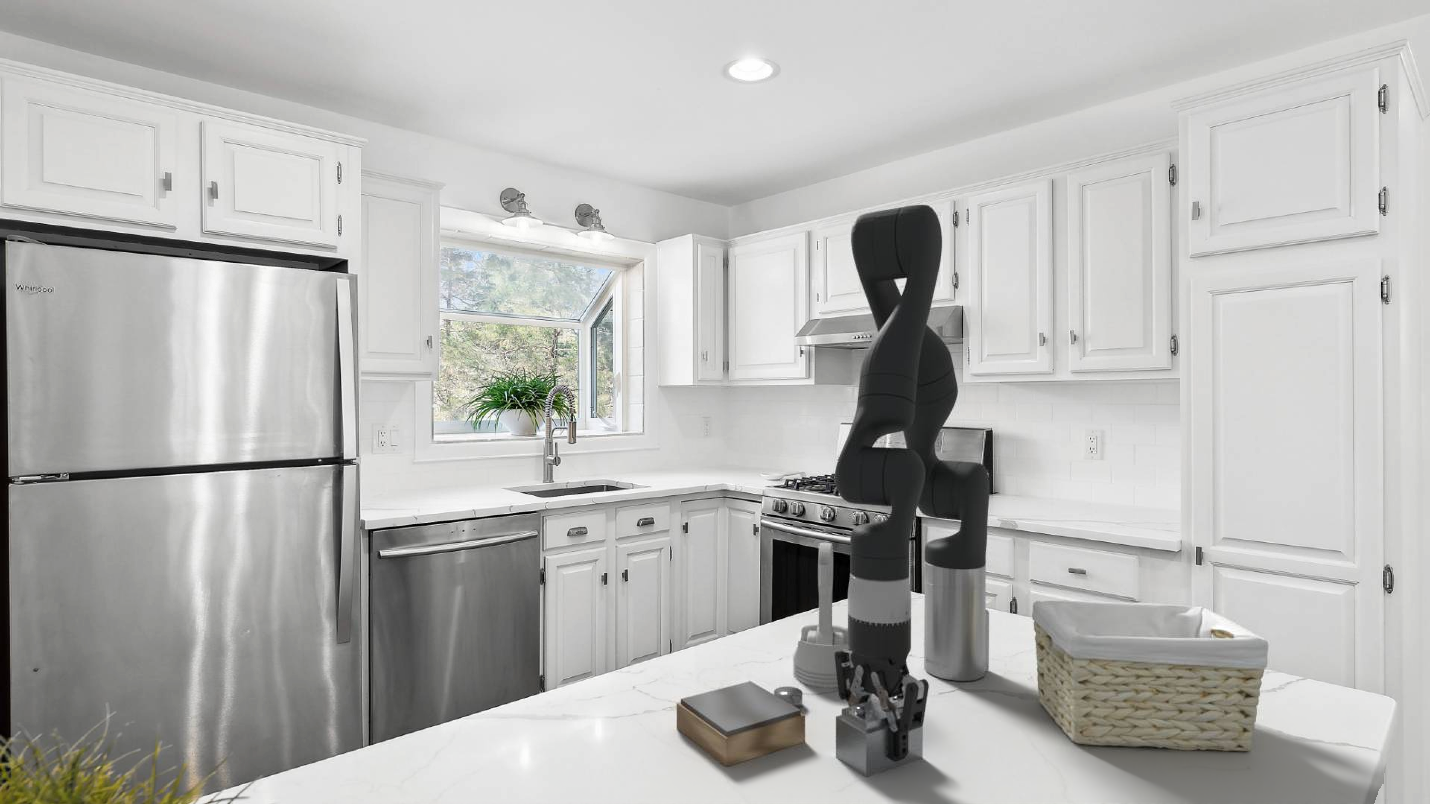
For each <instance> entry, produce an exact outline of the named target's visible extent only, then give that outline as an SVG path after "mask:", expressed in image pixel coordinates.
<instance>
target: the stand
mask: <svg viewBox="0 0 1430 804" xmlns="http://www.w3.org/2000/svg"><path fill="white" fill-rule="evenodd" d="M676 729H677V730H678V731H679V732H681V733H682V734H683V735H684V736H686V737H687V738H688V739H690V741H692V742H694V743H695V744H696V745H697V746H698V747H699V748H701V749H702V750H703V751H705V752H706V753H707V754H709V756H711V757H713V758H714V759H715V760H717V761H718V762H719V763H720V764H722V765H723V766H724V767H726V768H727V767H730V766H734V765H737V764H740V763H743V762H746V761H748V760H752V759H755V758H756V759H757V758H759V757H761V756H765V755H768V754H771V753H773V752H776V751H777V752H778V751H780V750H784V749H787V748H790V747H792V746H795V745H799V744H802V743H805V742H806V714H804V713H802V710H801V709H798V708H796V707H795V706H793V705H791V704H789V703H788V702H786V701H784V700H782V699H781V698H779V697H777V696H775V695H774V693H772V692H770V691H768V690H767V689H765V688H763V687H762V686H760V685H758V684H757V683H755V682H752V681H750V680H749V681H746V682H742V683H739V684H735V685H728V686H726V687H722V688H718V689H714V690H711V691H710V690H709V691H707V692H703V693H698V694H695V695H691V696H686V697H683V698H680V701H679V702H677V703H676Z"/></svg>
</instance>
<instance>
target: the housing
mask: <svg viewBox="0 0 1430 804" xmlns="http://www.w3.org/2000/svg"><path fill="white" fill-rule="evenodd" d="M889 700H890V702H893V701H896V700H897V695H896V696H894V697H891V698H889ZM896 715H897V719H899V718H900V715H899V712H898V709H896ZM889 729H890V726H889V722H888V719H887V715H886V712H885V711H883V710H882V709H881V705H880V701H879V698H877V699H873V700H870V701H869V702H865V703H862V704H858V705H855V706H851V707H849V706H848V707H845V708H841V715H837V716H835V758H837V759H838V760H839V761H841V762H842V763H844V764H845V765H847V766H849V767H850V768H851V769H853V770H854V771H856V772H858V773H859V774H861V775H862V776H864V777H865V778H868V777H871V776H874V775H877V774H878V773H882V772H885V771H887V770H888V771H889V770H891V769H895V768H896V767H900V766H903V765H905V764H908V763H912V762H914V761H918V760H920V759H923V758H924V757H923V756H924V755H923V754H924V753H923V751H924V750H923V748H924V746H923V744H924V742H923V741H924V740H923V739H924V730H923V729H924V725H923V726H922V727H920V728H917V729H914V730H911V731H909V732H908V755H907V756H906V757H905V758H904V759H902V760H900V761H897V762H894V761H892V760H890V759H889ZM917 759H918V760H917Z"/></svg>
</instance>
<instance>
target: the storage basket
mask: <svg viewBox="0 0 1430 804" xmlns="http://www.w3.org/2000/svg"><path fill="white" fill-rule="evenodd" d="M1031 618H1032V621H1033V630H1034V632H1035V635H1034V641H1035V649H1036V650H1035V655H1036V666H1037V667H1036V671H1037V675H1036V676H1037V678H1036V679H1037V689H1038V693H1037V695H1038V700H1039V701H1038V702H1039V703H1040V704H1041V705H1042V706H1043V708H1044V709H1045V710H1046V711H1047V713H1048V714H1049V716H1050V717H1051V718H1052V719H1054V722H1055V723H1056V725H1057V726H1059V727H1060V728H1061V729H1062V731H1063V732H1064V733H1065V735H1067V736H1068V737H1069V739H1070V740H1071V741H1072V742H1074V743H1076V744H1080V745H1091V746H1112V747H1113V746H1114V747H1117V746H1122V747H1123V746H1124V747H1133V748H1136V747H1138V748H1139V747H1156V748H1157V749H1158V748H1159V749H1163V748H1167V749H1170V750H1179V751H1180V750H1182V751H1194V750H1195V751H1196V750H1201V751H1206V750H1217V751H1224V752H1228V751H1237V752H1249V751H1251V750H1252V747H1253V738H1254V730H1255V724H1256V721H1257V715H1258V708H1257V706H1259V702H1260V699H1259V698H1260V696H1261V691H1260V688H1261V687H1262V684H1263V682H1262V679H1263V677H1264V673H1265V670H1266V669H1267V666H1268V651H1269V643H1268V642H1269V641H1268V640H1266V639H1265V638H1264V637H1262V636H1259V635H1257V634H1256V633H1254V632H1252V631H1250V630H1249V629H1247V628H1245V627H1244V626H1241V625H1239V624H1238V623H1235V622H1233V621H1232V620H1230V619H1228V618H1226V617H1224V616H1223V615H1220V614H1218V613H1216V612H1215V611H1212V610H1210V609H1208V608H1205V607H1204V606H1189V605H1181V604H1169V603H1167V604H1166V603H1150V602H1149V603H1147V602H1144V603H1143V602H1115V601H1113V602H1109V601H1108V602H1107V601H1090V600H1089V601H1087V600H1085V601H1084V600H1045V601H1041V600H1037V601H1034V602H1033V603H1032V613H1031ZM1212 635H1213V636H1214V637H1215V638H1214V637H1212Z"/></svg>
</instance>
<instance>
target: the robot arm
mask: <svg viewBox="0 0 1430 804" xmlns="http://www.w3.org/2000/svg"><path fill="white" fill-rule="evenodd" d="M850 230H851V231H850V232H851V233H850V244H851V245H850V246H851V252H852V257H853V260H854V265H855V268H856V271H857V274H858V279H859V280H860V283H861V286H862V289H863V291H864V294H865V298H866V300H867V303H868V306H869V308H870V311H871V314H872V318H873V320H874V324H875V326H876V330H877V334H876V335H875V337H874V339H872V340H871V343H870V345H869V346H868V348H867V350H866V353H865V355H864V358H863V361H862V362H861V363H862V364H861V368H860V375H859V384H858V393H857V394H858V395H857V403H856V410H855V414H854V419H853V420H852V424H851V427H850V430H849V433H848V435H847V437H846V440H845V442H844V444H843V447H842V450H841V451H840V454H839V457H838V461H837V463H836V466H835V471H834V482H835V488H836V490H837V493H838V494H839V496H840V497H841V499H842V500H844V501H846V502H847V503H849V504H856V505H869V506H883V507H891V511H890V514H889V516H888V518H887V519H885V520H883V521H882V520H881V521H878V522H876V521H874V522H870V523H862V524H859V525H856V526H855V527H854V528H853V529H852V530H851V532H850V533H851V534H850V540H849V549H850V552H849V554H850V555H849V559H850V560H849V561H850V563H849V565H850V566H849V572H850V573H849V582H848V588H847V589H848V590H847V628H848V646H849V649H844V650H840V651H837V652H835V664H836V673H837V682H838V688H837V691H838V697H839V698H840V700H842V701H845V700H846V701H847V704H848V707H851V706H855V705H858V704H862V703H865V702H869V701H872V697H873V695H874V696H875V697H876V698H877V699H879V701H880V705H881V709H882V710H883V711H885V712H886V715H887V719H888V722H889V726H890V729H889V759H890V760H892V761H894V762H897V761H900V760H902V759H904V758H905V757H906V756H907V755H908V732H909V731H911V730H914V729H917V728H920V727H922V726H923V727H924V721H925V713H926V707H927V701H928V694H929V689H930V684H929V682H928V680H927V679H924V678H922V679H919V680H918V679H917V678H916V677H913V675H911V674H910V671H909V668H908V663H907V658H908V656H909V653H910V652H911V649H912V589H911V583H910V582H911V581H910V542H911V536H912V534H911V533H912V529H913V525H914V524H913V523H914V519H915V516H916V512H917V509H918V510H919V511H920V513H922V515H923V516H924V515H925V516H927V517H930V518H934V519H940V520H941V519H942V520H954V521H960V527H959V530H958V531H957V532H956V533H953V534H952V535H949V536H945V537H941V538H935V539H933V540H931V541H928V542H927V543H926V544H925V547H924V614H923V615H924V617H923V618H924V620H923V621H924V626H923V627H924V629H923V630H924V637H923V638H924V639H923V641H924V642H923V647H924V648H923V650H924V651H923V653H924V654H923V667H924V670H925V671H926V672H927V673H929V674H930V675H933V677H937V678H939V679H944V680H949V681H956V682H959V681H962V682H968V681H969V682H970V681H976V680H979V679H981V678H984V676H985V675H986V672H987V671H989V670H990V663H989V662H990V612H989V610H987V609H986V606H987V605H986V600H987V599H986V597H987V596H986V588H987V587H986V586H987V585H986V579H987V576H986V573H987V571H986V569H987V566H986V563H987V561H986V560H987V545H988V521H989V520H988V519H989V505H990V488H991V487H990V479H989V473H988V470H987V468H986V467H985V466H984V464H982V463H980V462H974V461H962V460H960V461H958V460H941V459H939V458H938V456H937V454H936V448H935V447H936V445H935V444H936V441H937V439H938V436H939V433H940V432H941V430H942V429H943V427H944V425H945V423H946V422H947V420H948V418H949V416H950V415H951V413H952V411H953V409H954V407H955V404H956V402H957V398H958V394H959V388H958V382H957V377H956V373H955V366H954V363H953V358H952V354H951V351H950V350H949V348H948V346H947V345H946V343H945V342H944V341H943V339H942V338H941V337H940V336H939V335H938V334H937V333H936V332H935V330H933V329H932V328H931V327H930V326H929V325H928V324H927V323H928V320H929V317H930V316H929V315H930V311H931V307H932V304H933V299H934V294H935V290H936V285H937V281H938V277H939V272H940V266H941V261H942V255H943V254H942V252H943V234H942V226H941V222H940V219H939V217H938V215H937V212H936V211H935V210H934V208H933V207H932V206H930V205H927V204H914V205H913V204H912V205H906V206H902V207H901V206H900V207H894V208H890V209H883V210H878V211H877V210H876V211H873V212H871V211H870V212H867V213H863V214H860V215H859V216H858V217H856V218H855V220H854V221H853V223H852V226H851V229H850ZM901 279H906V281H905V284H904V288H903V291H902V293H901V292H900V290H899V287H898V285H897V283H896V280H901ZM901 432H902V433H903V437H904V442H905V445H906V447H887V446H886V447H880V446H875V444H876V443H877V441H878V440H879V439H880V438H881V437H885V436H886V435H891V434H895V433H901ZM847 679H849V683H850V685H849V687H848V686H847V684H846V681H847ZM896 695H897V700H896V701H893V702H890V700H889V698H891V697H894V696H896ZM896 709H898V712H899V715H900V718H899V719H897V715H896Z"/></svg>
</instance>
